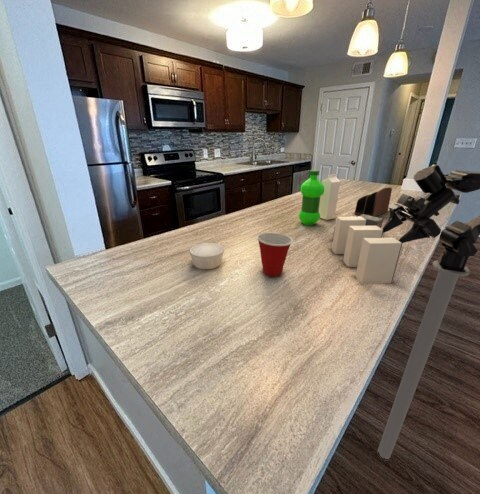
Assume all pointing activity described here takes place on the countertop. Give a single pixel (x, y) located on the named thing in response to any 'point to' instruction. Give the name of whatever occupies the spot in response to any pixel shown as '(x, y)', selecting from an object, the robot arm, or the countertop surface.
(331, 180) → the milk
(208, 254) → the ramekin
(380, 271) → the white books
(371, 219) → the grey books
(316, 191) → the plastic bottle
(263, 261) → the plastic cup
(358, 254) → the cream rectangular block
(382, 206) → the letter holder
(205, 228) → the countertop surface
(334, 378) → the countertop surface
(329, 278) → the countertop surface
